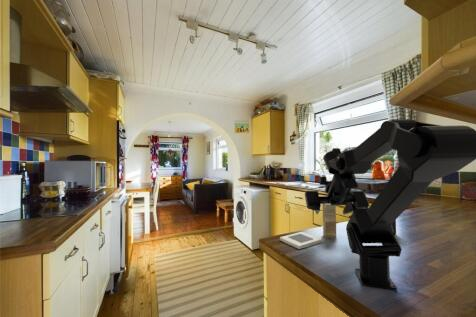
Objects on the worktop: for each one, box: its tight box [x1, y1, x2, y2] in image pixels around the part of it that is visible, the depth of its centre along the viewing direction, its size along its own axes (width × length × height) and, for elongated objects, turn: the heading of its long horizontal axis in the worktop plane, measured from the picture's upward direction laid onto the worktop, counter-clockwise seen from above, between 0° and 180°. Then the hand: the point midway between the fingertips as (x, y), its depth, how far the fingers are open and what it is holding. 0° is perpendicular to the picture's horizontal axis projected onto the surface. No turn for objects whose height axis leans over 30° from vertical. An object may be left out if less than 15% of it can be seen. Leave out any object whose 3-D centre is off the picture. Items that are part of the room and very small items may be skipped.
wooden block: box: [321, 204, 337, 239], centre depth 74 cm, size 4×4×12 cm
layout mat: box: [279, 231, 324, 250], centre depth 70 cm, size 11×9×1 cm
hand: (330, 213), depth 73 cm, fingers open, 9 cm apart
